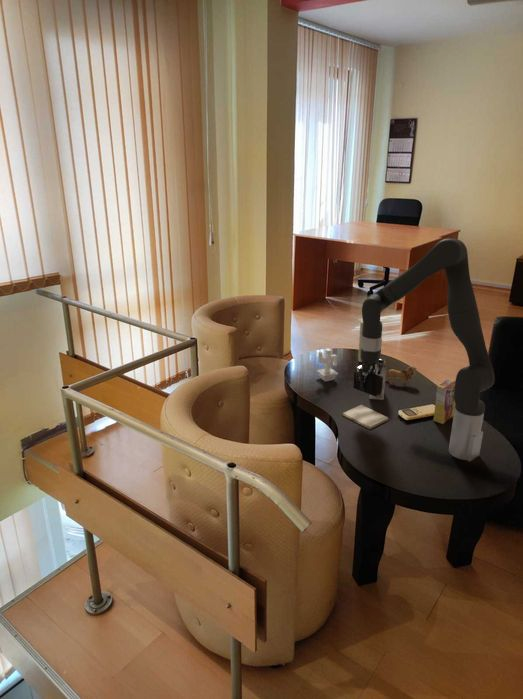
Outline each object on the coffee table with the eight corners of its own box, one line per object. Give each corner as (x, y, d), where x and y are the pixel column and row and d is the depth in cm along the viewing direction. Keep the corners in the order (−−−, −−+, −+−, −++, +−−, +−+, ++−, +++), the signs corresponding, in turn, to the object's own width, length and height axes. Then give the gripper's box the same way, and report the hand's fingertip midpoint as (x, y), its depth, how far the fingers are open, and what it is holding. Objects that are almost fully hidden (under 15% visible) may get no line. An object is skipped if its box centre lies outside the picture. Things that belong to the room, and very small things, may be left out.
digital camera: (383, 392, 193) (385, 375, 190) (375, 396, 190) (377, 380, 187) (361, 383, 200) (362, 367, 197) (353, 388, 197) (354, 371, 194)
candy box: (443, 412, 203) (448, 378, 197) (453, 416, 200) (458, 381, 194) (432, 420, 197) (436, 385, 191) (442, 424, 194) (447, 389, 188)
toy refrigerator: (358, 362, 250) (360, 322, 242) (357, 356, 257) (360, 317, 249) (374, 363, 249) (377, 323, 241) (373, 357, 256) (376, 318, 248)
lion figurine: (414, 382, 229) (416, 364, 225) (415, 387, 224) (417, 369, 220) (381, 380, 231) (382, 362, 228) (381, 385, 226) (383, 367, 223)
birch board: (388, 419, 198) (388, 417, 197) (369, 429, 191) (370, 427, 191) (360, 406, 208) (361, 404, 207) (342, 415, 201) (342, 413, 201)
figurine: (339, 380, 232) (341, 350, 226) (321, 383, 228) (323, 353, 223) (331, 374, 238) (333, 344, 232) (314, 377, 234) (315, 348, 229)
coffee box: (369, 389, 223) (371, 356, 217) (383, 390, 221) (386, 357, 215) (368, 399, 214) (371, 364, 208) (384, 400, 213) (387, 365, 207)
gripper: (375, 339, 195) (372, 379, 202) (350, 348, 187) (347, 389, 193) (391, 345, 190) (387, 385, 196) (366, 354, 181) (362, 396, 188)
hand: (367, 387), depth 195 cm, fingers closed on digital camera, 5 cm apart
